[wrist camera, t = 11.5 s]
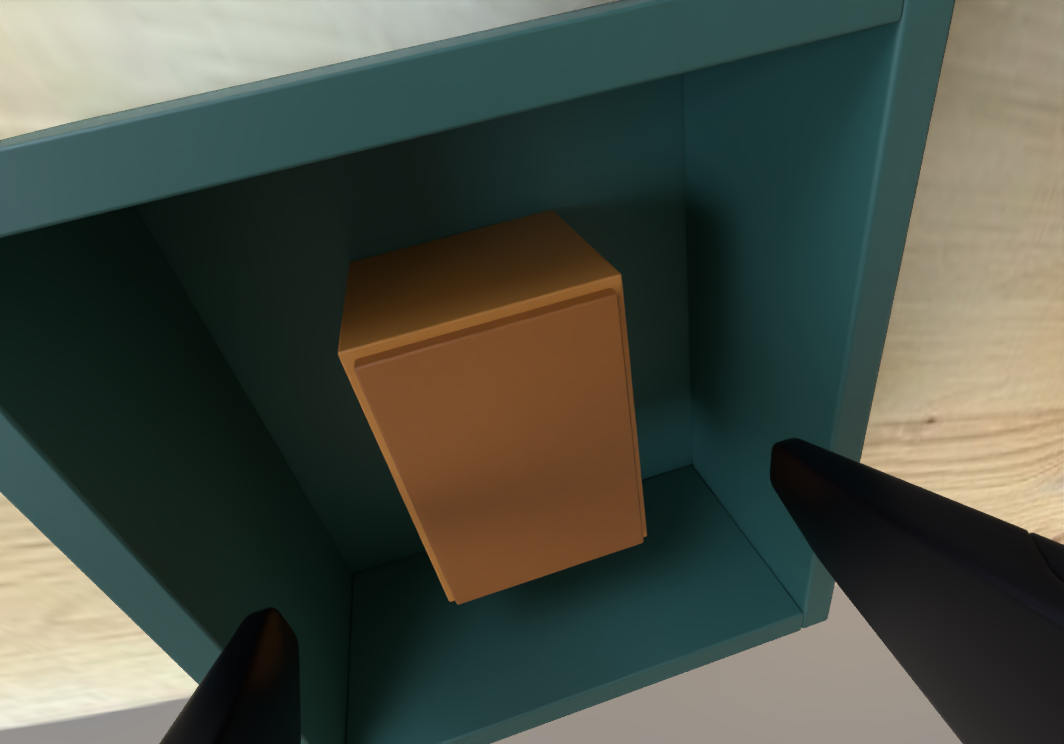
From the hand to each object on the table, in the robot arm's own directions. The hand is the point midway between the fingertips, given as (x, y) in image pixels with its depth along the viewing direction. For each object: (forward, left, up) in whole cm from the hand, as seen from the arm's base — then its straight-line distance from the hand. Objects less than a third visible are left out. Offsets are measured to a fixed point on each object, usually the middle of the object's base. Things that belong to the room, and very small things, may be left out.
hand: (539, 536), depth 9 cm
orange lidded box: (0, 0, -6) cm, 6 cm away
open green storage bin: (0, 0, -7) cm, 7 cm away
